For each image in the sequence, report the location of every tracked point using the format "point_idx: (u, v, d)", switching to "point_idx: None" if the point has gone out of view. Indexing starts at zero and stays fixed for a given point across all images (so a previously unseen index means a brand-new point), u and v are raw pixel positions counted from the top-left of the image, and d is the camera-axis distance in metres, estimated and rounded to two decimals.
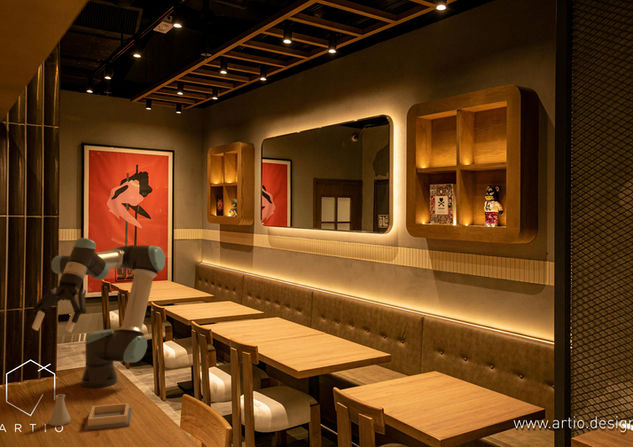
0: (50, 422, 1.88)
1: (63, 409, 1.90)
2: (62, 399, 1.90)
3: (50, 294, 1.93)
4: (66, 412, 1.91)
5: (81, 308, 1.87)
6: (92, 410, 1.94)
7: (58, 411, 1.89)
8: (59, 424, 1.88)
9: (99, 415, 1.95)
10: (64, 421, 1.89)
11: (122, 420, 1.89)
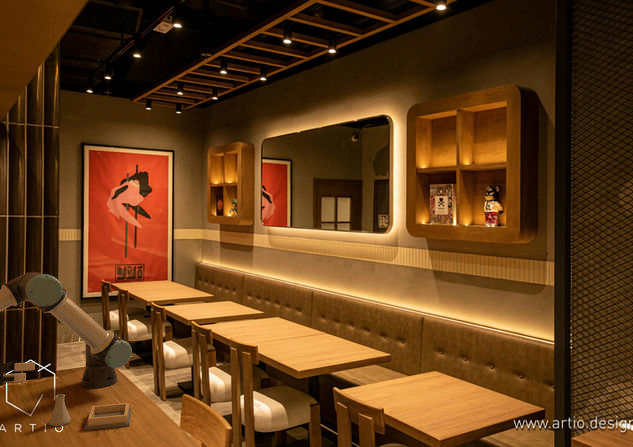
0: (50, 422, 1.88)
1: (63, 409, 1.90)
2: (62, 399, 1.90)
3: None
4: (66, 412, 1.91)
5: None
6: (92, 410, 1.94)
7: (58, 411, 1.89)
8: (59, 424, 1.88)
9: (99, 415, 1.95)
10: (64, 421, 1.89)
11: (122, 420, 1.89)
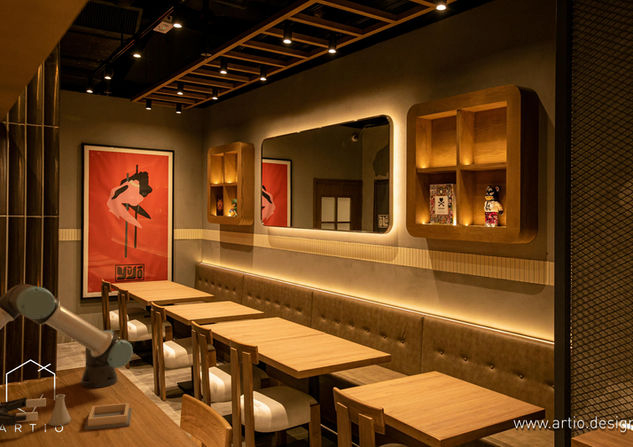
0: (50, 422, 1.88)
1: (63, 409, 1.90)
2: (62, 399, 1.90)
3: None
4: (66, 412, 1.91)
5: None
6: (92, 410, 1.94)
7: (58, 411, 1.89)
8: (59, 424, 1.88)
9: (99, 415, 1.95)
10: (64, 421, 1.89)
11: (122, 420, 1.89)
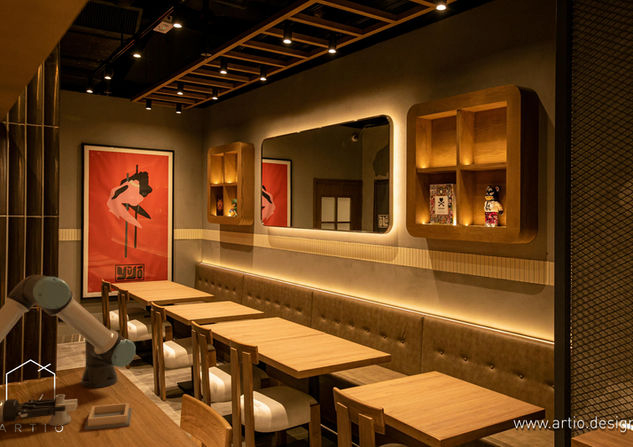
0: (50, 422, 1.88)
1: None
2: (62, 399, 1.90)
3: None
4: (66, 412, 1.91)
5: None
6: (92, 410, 1.94)
7: None
8: (59, 424, 1.88)
9: (99, 415, 1.95)
10: (64, 421, 1.89)
11: (122, 420, 1.89)
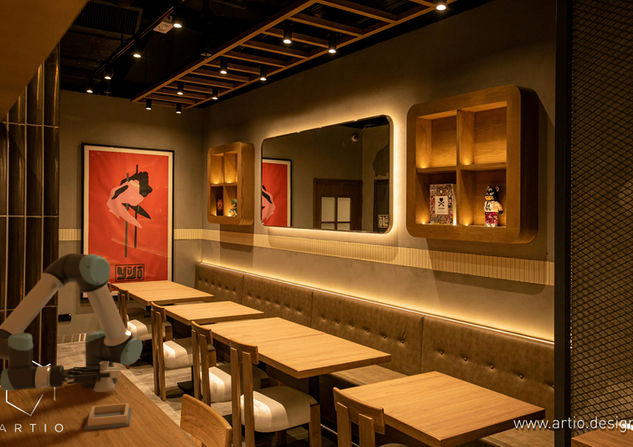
0: (95, 388, 1.90)
1: None
2: (106, 366, 1.92)
3: None
4: (110, 379, 1.93)
5: (94, 381, 1.87)
6: (92, 410, 1.94)
7: None
8: (104, 390, 1.90)
9: (99, 415, 1.95)
10: (109, 387, 1.91)
11: (122, 420, 1.89)
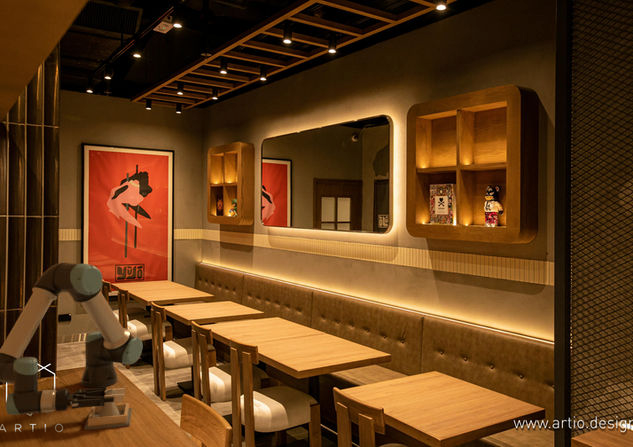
0: None
1: (113, 404, 1.93)
2: (111, 394, 1.93)
3: None
4: (115, 407, 1.94)
5: None
6: (92, 410, 1.94)
7: (108, 406, 1.92)
8: None
9: None
10: (114, 415, 1.92)
11: (122, 420, 1.89)
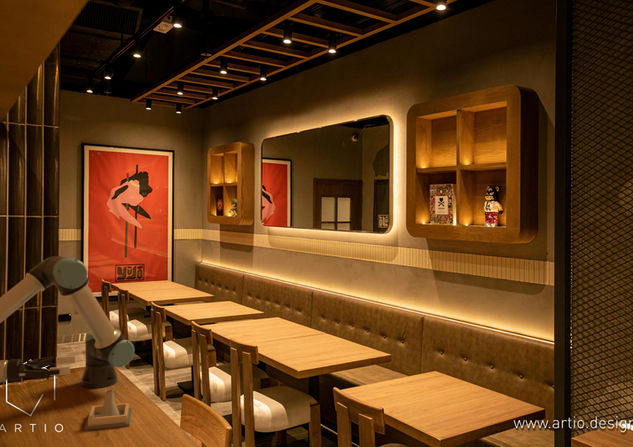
0: None
1: (112, 404, 1.93)
2: (111, 394, 1.93)
3: (35, 364, 1.97)
4: (115, 407, 1.94)
5: None
6: (92, 410, 1.94)
7: (108, 406, 1.92)
8: None
9: None
10: (114, 415, 1.92)
11: (122, 420, 1.89)
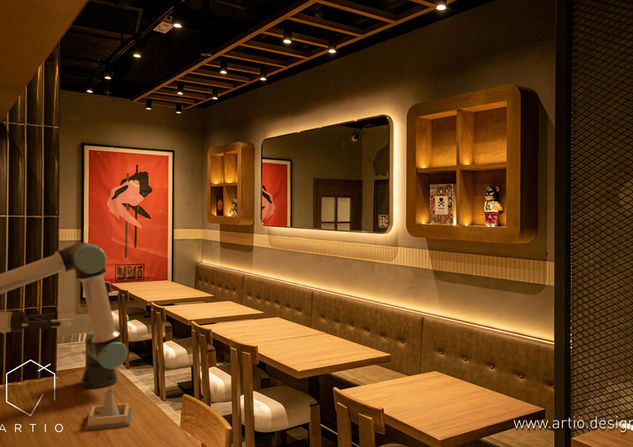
0: None
1: (112, 404, 1.93)
2: (111, 394, 1.93)
3: None
4: (115, 407, 1.94)
5: (44, 328, 1.93)
6: (92, 410, 1.94)
7: (108, 406, 1.92)
8: None
9: None
10: (114, 415, 1.92)
11: (122, 420, 1.89)
